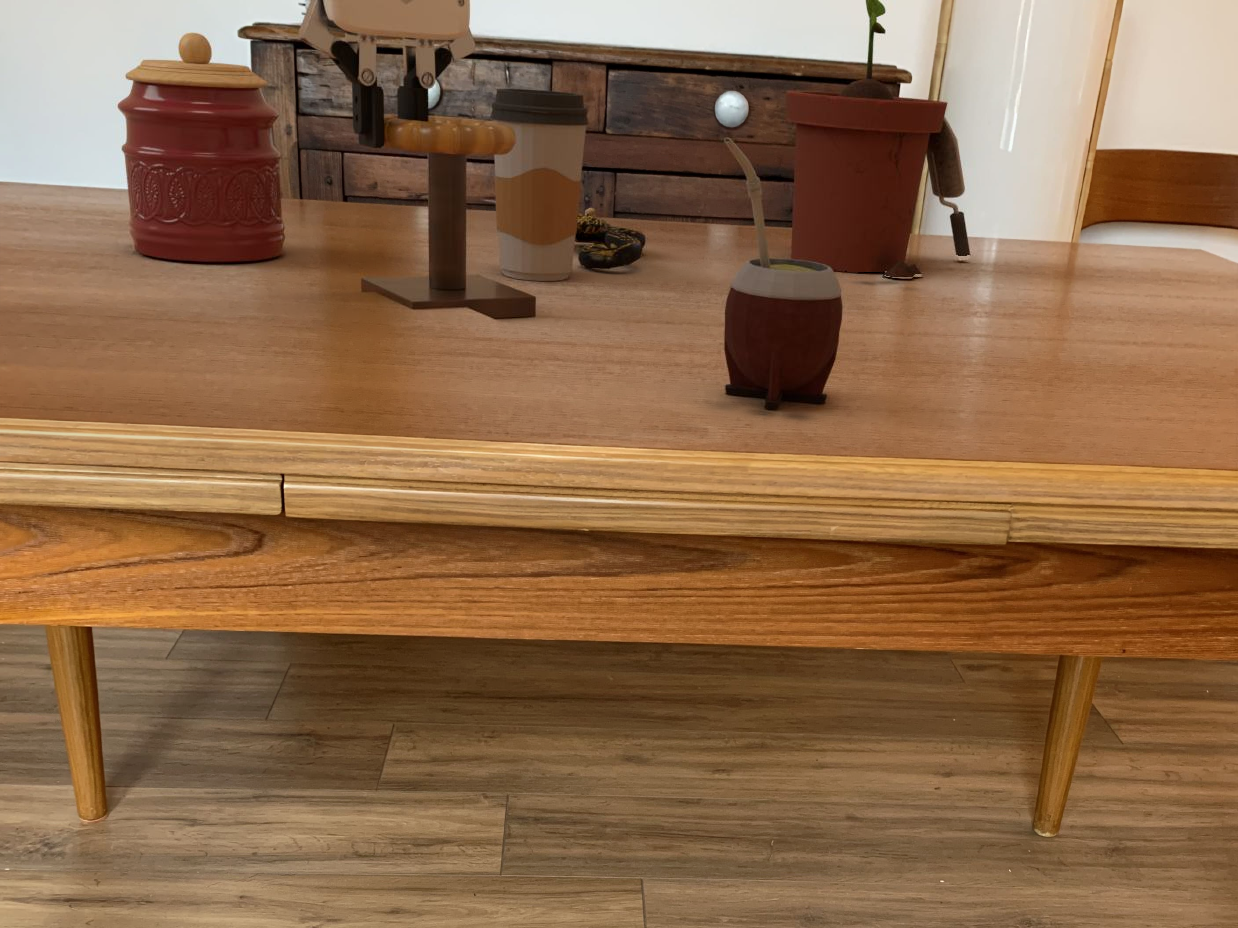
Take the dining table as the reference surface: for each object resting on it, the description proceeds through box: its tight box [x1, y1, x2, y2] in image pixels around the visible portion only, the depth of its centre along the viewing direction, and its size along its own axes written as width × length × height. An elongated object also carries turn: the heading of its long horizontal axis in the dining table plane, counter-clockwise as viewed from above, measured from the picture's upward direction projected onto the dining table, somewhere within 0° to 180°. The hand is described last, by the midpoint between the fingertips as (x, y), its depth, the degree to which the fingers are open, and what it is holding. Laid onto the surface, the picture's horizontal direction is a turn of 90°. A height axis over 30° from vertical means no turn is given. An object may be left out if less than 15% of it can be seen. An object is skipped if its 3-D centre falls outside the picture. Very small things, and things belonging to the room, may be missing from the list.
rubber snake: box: [575, 207, 646, 270], centre depth 130 cm, size 18×5×10 cm
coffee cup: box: [490, 88, 589, 282], centre depth 116 cm, size 8×8×15 cm
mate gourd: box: [723, 136, 843, 411], centre depth 80 cm, size 8×8×15 cm
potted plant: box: [785, 0, 971, 280], centre depth 133 cm, size 18×22×25 cm
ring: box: [383, 113, 516, 156], centre depth 98 cm, size 10×10×2 cm
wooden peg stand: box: [360, 152, 537, 319], centre depth 101 cm, size 10×10×12 cm
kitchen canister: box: [117, 32, 286, 263], centre depth 115 cm, size 13×13×18 cm
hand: (391, 144), depth 96 cm, fingers closed on ring, 2 cm apart
